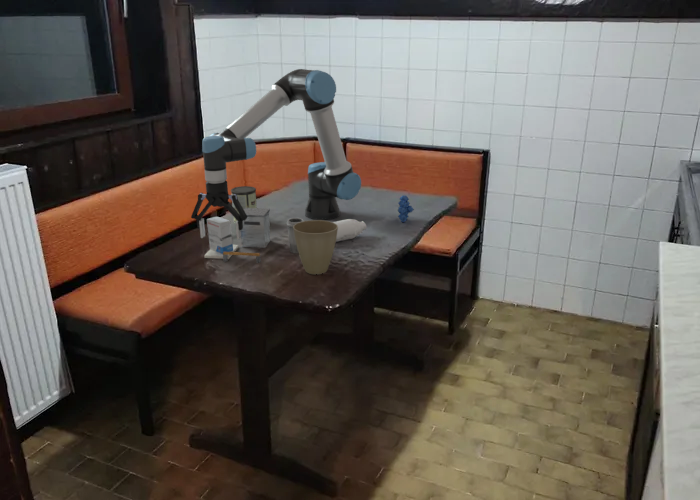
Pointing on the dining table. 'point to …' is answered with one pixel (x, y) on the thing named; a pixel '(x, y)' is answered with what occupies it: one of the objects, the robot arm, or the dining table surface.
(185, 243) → the dining table surface
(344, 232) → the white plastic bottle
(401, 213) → the grapes
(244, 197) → the coffee can
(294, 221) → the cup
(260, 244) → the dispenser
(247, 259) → the dining table surface
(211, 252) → the tile
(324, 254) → the plant pot
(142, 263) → the dining table surface
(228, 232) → the ink box
